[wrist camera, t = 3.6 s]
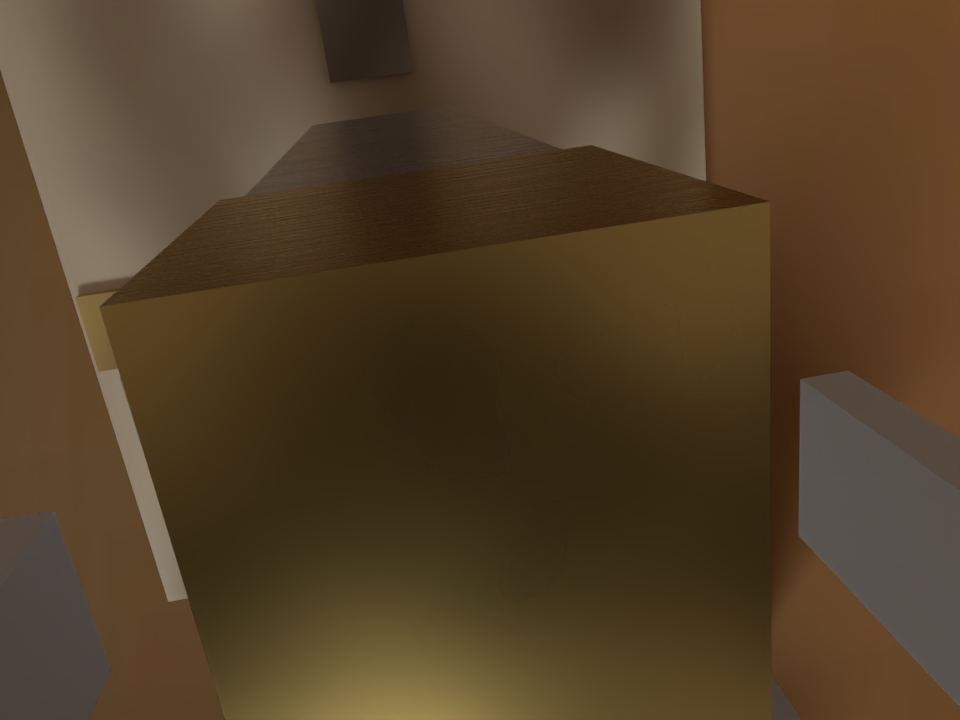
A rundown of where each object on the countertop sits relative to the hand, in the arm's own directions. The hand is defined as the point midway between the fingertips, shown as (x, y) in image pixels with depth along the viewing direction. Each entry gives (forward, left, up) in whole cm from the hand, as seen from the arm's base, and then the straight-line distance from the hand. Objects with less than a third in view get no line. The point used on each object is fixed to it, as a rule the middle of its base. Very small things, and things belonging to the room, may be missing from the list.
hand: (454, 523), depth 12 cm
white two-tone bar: (0, 0, -9) cm, 9 cm away
